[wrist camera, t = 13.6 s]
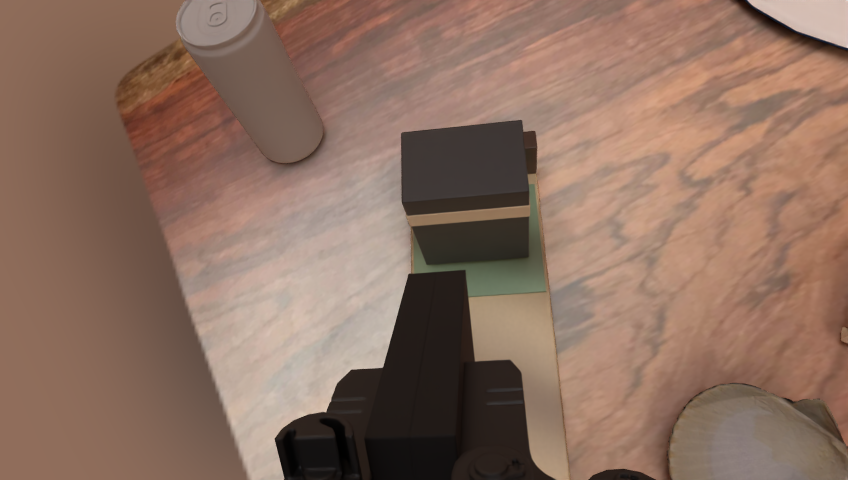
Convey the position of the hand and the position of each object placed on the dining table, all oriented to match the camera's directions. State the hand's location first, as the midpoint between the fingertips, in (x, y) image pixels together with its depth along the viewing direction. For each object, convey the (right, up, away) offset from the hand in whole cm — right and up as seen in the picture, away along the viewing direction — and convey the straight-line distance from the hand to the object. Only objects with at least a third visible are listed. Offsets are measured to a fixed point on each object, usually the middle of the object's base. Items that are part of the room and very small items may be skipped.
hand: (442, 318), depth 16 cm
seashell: (+16, -10, +14) cm, 23 cm away
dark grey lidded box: (+3, +3, +20) cm, 21 cm away
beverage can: (-10, +9, +27) cm, 30 cm away
